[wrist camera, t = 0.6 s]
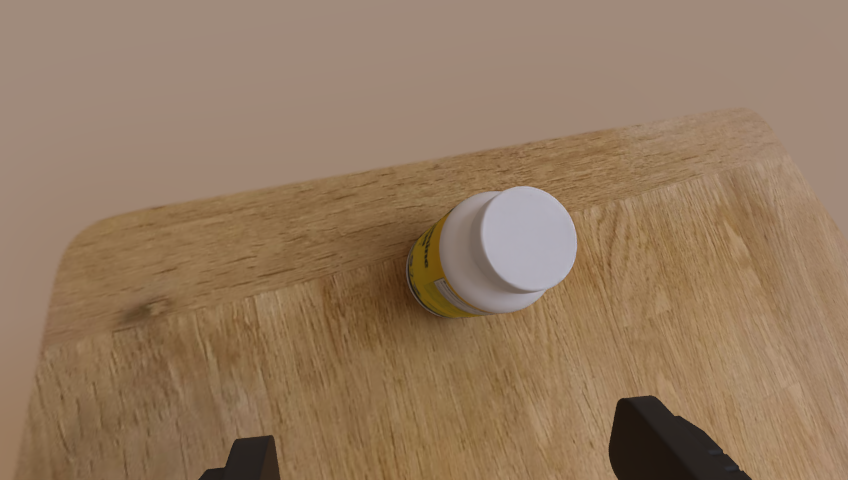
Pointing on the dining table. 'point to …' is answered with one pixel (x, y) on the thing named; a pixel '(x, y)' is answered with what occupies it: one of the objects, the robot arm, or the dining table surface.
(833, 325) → the dining table surface
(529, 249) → the pill bottle
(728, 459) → the robot arm
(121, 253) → the dining table surface
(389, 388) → the dining table surface
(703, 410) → the dining table surface
